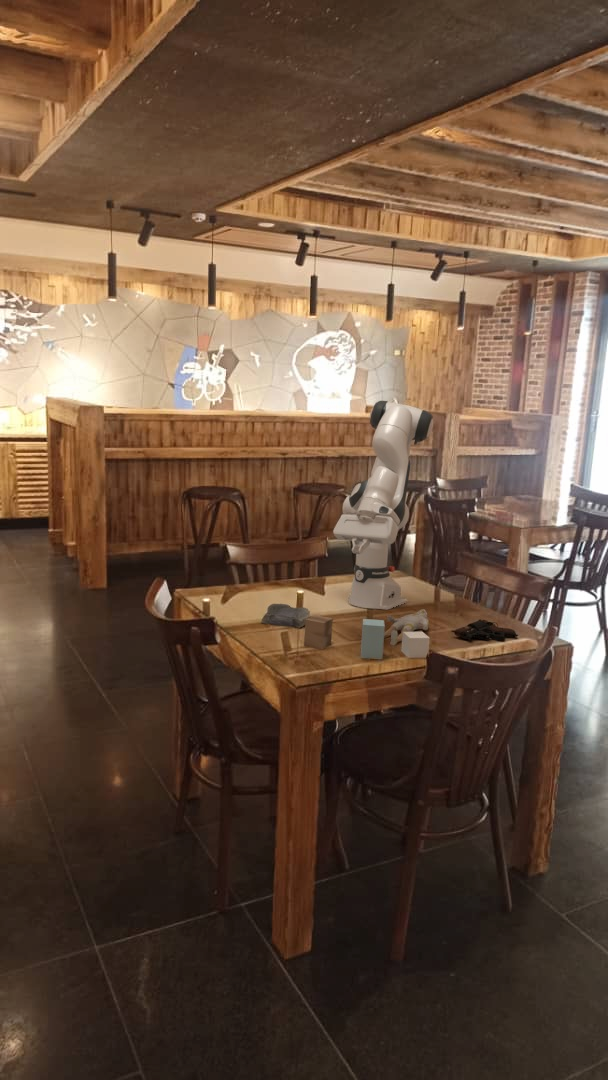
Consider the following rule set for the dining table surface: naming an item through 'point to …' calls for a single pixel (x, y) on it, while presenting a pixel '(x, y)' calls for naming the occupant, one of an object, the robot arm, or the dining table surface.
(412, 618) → the figurine
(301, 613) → the fossil
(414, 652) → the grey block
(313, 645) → the walnut block
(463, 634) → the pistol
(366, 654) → the teal block
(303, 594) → the dining table surface
